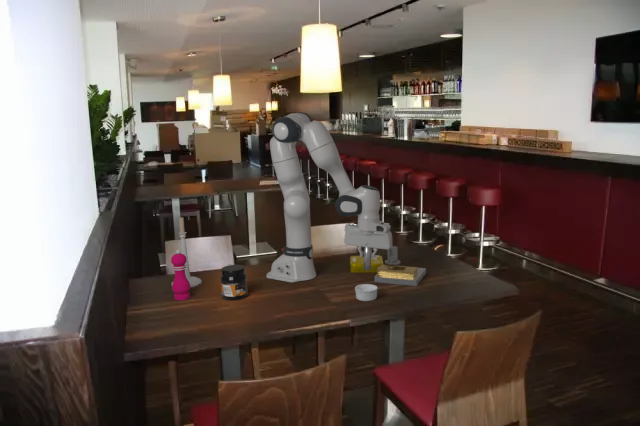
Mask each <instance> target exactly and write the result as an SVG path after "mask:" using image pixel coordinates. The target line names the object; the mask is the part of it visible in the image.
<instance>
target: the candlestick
mask: <svg viewBox="0 0 640 426" xmlns="http://www.w3.org/2000/svg"><path fill="white" fill-rule="evenodd" d="M178 226H179V232H178V233H177V234H178V235H179V238H180V253H181V254H184V255H185V256H186V259H187V261H186V263H185V265H186V269H185V275H186V278H187V279H188V281H189V283H190V288H195V287H197V286H199V284H200V285H201V284H202V279H201V278H199V277H198V276H191V272H190V264H189V256H188V248H187V245H186V244H187V243H186V236H187V235H186V234H187V231H185V220H184V217H182V216H180V217H178ZM172 284H173V281H172V282H171V285H172Z"/></svg>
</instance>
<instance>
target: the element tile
mask: <svg viewBox="0 0 640 426" xmlns="http://www.w3.org/2000/svg"><path fill="white" fill-rule="evenodd" d="M383 260H384V259H383V256H382V255H379V254H377V255H376V254H375V258H371V270H364V269H363V266H364V257H360V255H351V256H350V257H349V262H350V263H349V267H350V269H349V270H350V272H351V273H353V274H354V273H355V274H356V273H358V274H361V273H362V274H363V273H377V268H378V267H379V266H381V265H384V261H383Z"/></svg>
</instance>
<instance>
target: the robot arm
mask: <svg viewBox="0 0 640 426" xmlns="http://www.w3.org/2000/svg"><path fill="white" fill-rule="evenodd" d="M271 129H272V135H273V136H272V137H271V139H270V140H269V150H270V155H271V156H270V157H271V161H272V165H273V167H274V172H275V175H276V178H277V182H278V184H279V186H280V191H281V193H282V196H283V199H284V201H283V214H284V215H283V216H284V224H285V225H284V226H285V238H286V239H285V240H286V241H285V243H286V245H284V246H283V248H281V252H283V254H281V255H280V256H279V257H277V258H276V259H275V260H274V261H273V262H272V264H271V268H270V269H271V270H270V271H269V272H267V273H266V278H267V279H271V280H277V281H283V282H287V283H296V282H302V281H309V280H312V279H315V278H316V276H317V272H316V268H315V265H314V260H313V259H314V258H313V257H314V249H313V244H312V229H311V228H312V226H311V223H312V222H311V209H310V208H311V198H310V194H309V189H308V188H307V184H306V181H305V180H306V179H305V177H304V174H303V171H302V167H301V164H300V160H299V156H298V153H297V149H296V145H297V142H303V143H304V145H305V146H306V148H307V151H308V153H309V155H310V156H311V159H312V160H313V162H314V164H315V165H316V166H317V167H318V168H320V169H322V170H324V171H325V172H327V173H328V174H329V175H330V177H331V178H332V180H333V182H334V185H336V187H337V190H338V192H339V196H338V197H337V199H336V201H335V203H334V204H335V205H334V207H335V208H334V209H335V210H336V212H337V213H338V214H339V215H340V216H341V217H348V218H349V217H354V216H355V217H356V216H357V223H351V222H349V223H346V224H345V225H344V232H345V233H344V239H343V243H344V244H345V246H353V247H357V250H358V252H359V256H360V257H364V250H362V248H364V247H369V248H372V250H373V252H372V253H371V258H375V255H376V254H377V252H378V250H386V251H387V250H389V249H390V248H391V247H392V246H393V234H392V232H391V225H390V224H389V223H386V222H384V221H382V220H381V219H380V207H381V198H380V197H381V196H380V191H379V190H378V188H376V187H375V186H371V185H366V184H364V185H360V186H359V187H358V188H356V187H355V186H354V184H353V183H352V181H351V179H350V177H349V175H348V173H347V171H346V169H345V167H344V166H343V161H342V159H341V157H340V153H339V150H338V148H337V146H336V144H335V141H334V139H333V137H332V135H331V134H330V131H329V130H328V128H327V127H326V126H325V124H324V123H323V122H322V121H319V120H314V119H313V118H312V116H311V115H310V114H309V113H306V112H303V111H302V112H296V113H295V112H294V113H290V114H289V113H288V115H285V116H281V117H280V118H278V119H276V120H275V121H274V122H273V124H272V128H271ZM365 242H366V243H368V245H366V244H365Z"/></svg>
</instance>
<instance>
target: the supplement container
mask: <svg viewBox="0 0 640 426" xmlns="http://www.w3.org/2000/svg"><path fill="white" fill-rule="evenodd" d="M220 274H221V275H220V278H219V279H220V288H221V297H222V298H223V299H224V300H226V301H227V300H228V301H239V300H242V299H245V298H246V297H247V296H248V294H249V291H248V275H247V273H246V267H245V266H244V265H242V264H228V265H225V266H223V267H221V269H220Z"/></svg>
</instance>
